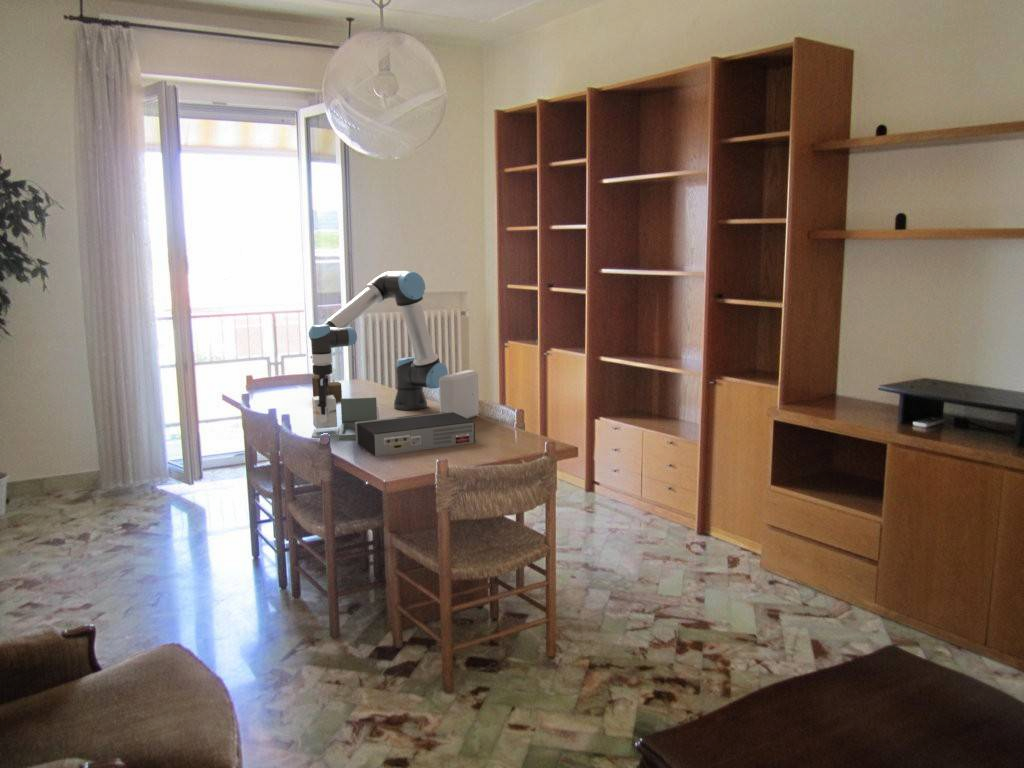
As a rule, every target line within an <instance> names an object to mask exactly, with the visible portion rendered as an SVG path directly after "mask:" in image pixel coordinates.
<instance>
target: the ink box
mask: <svg viewBox="0 0 1024 768" xmlns="http://www.w3.org/2000/svg"><path fill="white" fill-rule="evenodd" d="M311 401H312V420H313V421H312V423H313V426H314V427H315V428H314V429H333V428H338V415H337V402H336V399H335V398H334V396H333V395H330V396H329V395H326V406H327V422H324V423H320V407H318V405H319V396H316V397H313V396H311ZM321 403H324V402H321Z"/></svg>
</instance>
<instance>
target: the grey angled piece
mask: <svg viewBox="0 0 1024 768" xmlns="http://www.w3.org/2000/svg"><path fill="white" fill-rule="evenodd" d="M340 410H341V424H340V428H339V429H340V430H339V433H338V436H337V438H338V441H354V440H355V441H356V433H346V434H344V433H345V429H355V422H360V421H369V420H378V419H380V403H377V397H375V396H374V397H373V396H371V397H351V398H350V397H346V398H343V397H342V399H341V401H340Z"/></svg>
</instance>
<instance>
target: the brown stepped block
mask: <svg viewBox="0 0 1024 768" xmlns="http://www.w3.org/2000/svg"><path fill="white" fill-rule="evenodd" d="M318 378H319V375H314V374H313V375H312V377H311V383H312V384H311V385H312V397H316V396H319V389H318ZM342 389H343V388H342V383H341V382H340V381H335V379H332V381H328V393H329V396H330V395H333V396H334V398H335V399H336V401H337V402H341V399H342V398H343V394H342V392H343V391H342Z"/></svg>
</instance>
